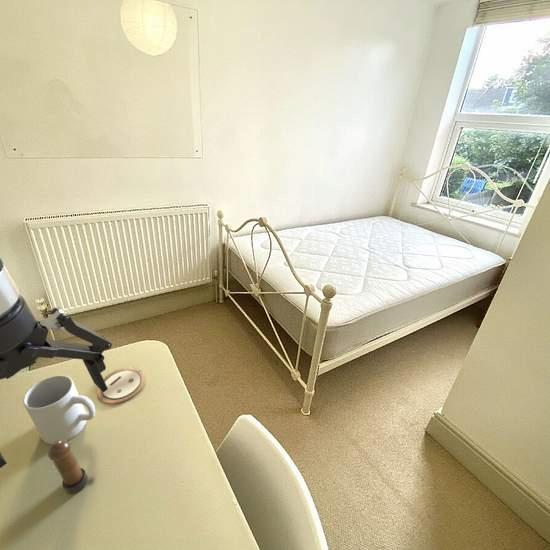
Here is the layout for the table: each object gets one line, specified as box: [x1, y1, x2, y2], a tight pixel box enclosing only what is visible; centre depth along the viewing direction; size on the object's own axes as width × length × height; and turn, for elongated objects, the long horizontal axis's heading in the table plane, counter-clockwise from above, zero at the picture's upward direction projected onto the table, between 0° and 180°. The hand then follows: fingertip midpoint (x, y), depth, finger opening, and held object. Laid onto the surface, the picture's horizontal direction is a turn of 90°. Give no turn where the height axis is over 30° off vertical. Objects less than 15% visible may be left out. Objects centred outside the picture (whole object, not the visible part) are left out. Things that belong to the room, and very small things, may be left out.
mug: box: [22, 374, 97, 445], centre depth 64 cm, size 12×8×11 cm
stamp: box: [47, 440, 89, 495], centre depth 54 cm, size 4×4×12 cm
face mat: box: [96, 367, 147, 405], centre depth 77 cm, size 11×11×1 cm
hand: (55, 419), depth 44 cm, fingers open, 13 cm apart
